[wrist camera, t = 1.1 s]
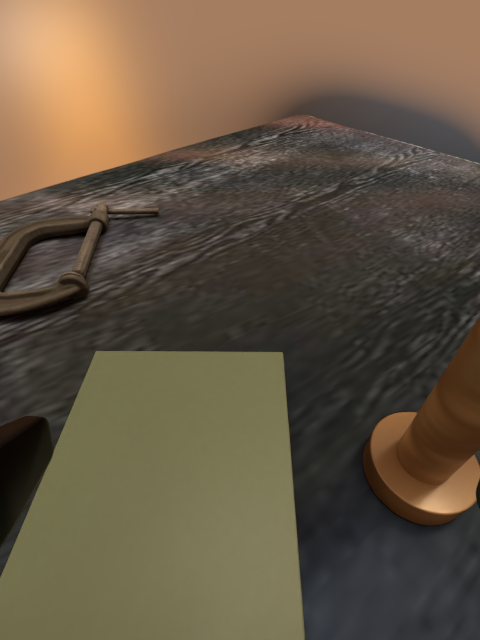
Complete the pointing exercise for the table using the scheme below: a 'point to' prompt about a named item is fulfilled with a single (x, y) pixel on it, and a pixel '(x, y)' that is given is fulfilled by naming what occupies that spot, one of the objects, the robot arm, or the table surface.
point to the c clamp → (11, 249)
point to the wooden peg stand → (432, 446)
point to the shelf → (164, 508)
